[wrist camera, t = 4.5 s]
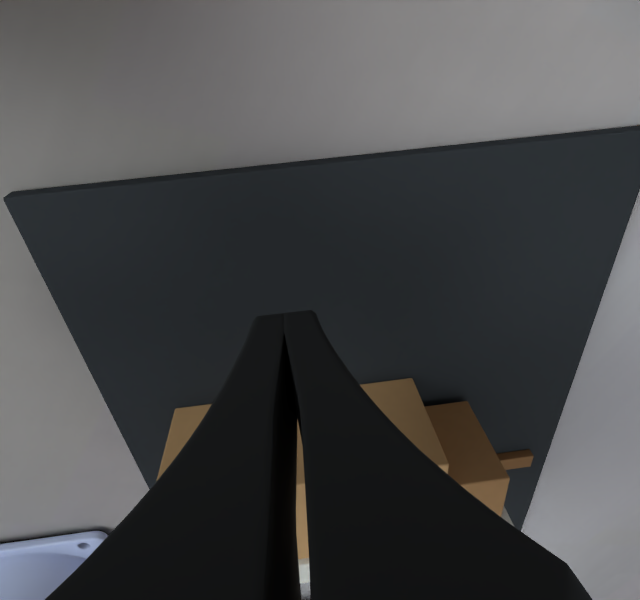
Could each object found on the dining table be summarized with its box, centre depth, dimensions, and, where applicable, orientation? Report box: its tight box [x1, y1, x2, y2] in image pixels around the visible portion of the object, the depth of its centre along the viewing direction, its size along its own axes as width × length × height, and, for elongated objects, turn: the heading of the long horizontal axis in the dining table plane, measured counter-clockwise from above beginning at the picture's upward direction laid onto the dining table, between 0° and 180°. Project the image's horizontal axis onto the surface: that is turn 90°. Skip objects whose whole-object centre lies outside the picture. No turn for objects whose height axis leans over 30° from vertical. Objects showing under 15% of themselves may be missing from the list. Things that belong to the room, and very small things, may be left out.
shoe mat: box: [4, 126, 640, 531], centre depth 18 cm, size 18×22×1 cm
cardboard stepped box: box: [157, 378, 514, 584], centre depth 16 cm, size 12×5×4 cm, turn 94°
